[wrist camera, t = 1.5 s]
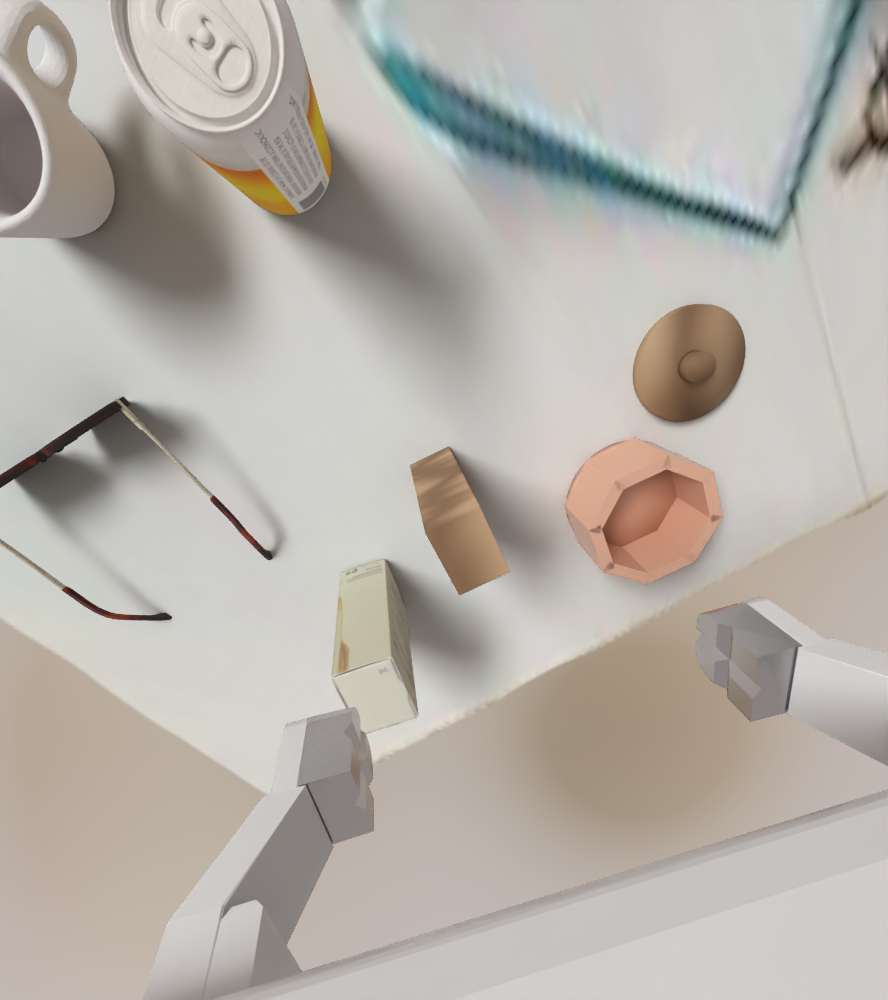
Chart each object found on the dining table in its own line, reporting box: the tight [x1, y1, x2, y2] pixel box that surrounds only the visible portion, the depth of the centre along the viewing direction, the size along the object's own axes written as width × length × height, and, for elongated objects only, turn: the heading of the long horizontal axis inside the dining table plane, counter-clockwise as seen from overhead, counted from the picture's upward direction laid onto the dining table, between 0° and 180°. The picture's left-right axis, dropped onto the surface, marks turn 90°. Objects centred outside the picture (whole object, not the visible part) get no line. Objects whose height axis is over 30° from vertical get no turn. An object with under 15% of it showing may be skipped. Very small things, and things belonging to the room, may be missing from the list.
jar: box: [565, 437, 723, 584], centre depth 39 cm, size 11×11×6 cm
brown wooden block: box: [410, 447, 510, 595], centre depth 33 cm, size 4×5×12 cm
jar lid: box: [633, 304, 745, 421], centre depth 37 cm, size 9×9×2 cm
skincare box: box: [331, 559, 418, 734], centre depth 36 cm, size 6×4×12 cm
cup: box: [0, 0, 115, 238], centre depth 23 cm, size 11×8×8 cm
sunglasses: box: [0, 397, 272, 621], centre depth 35 cm, size 14×16×5 cm
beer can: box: [108, 0, 332, 215], centre depth 22 cm, size 6×6×15 cm
